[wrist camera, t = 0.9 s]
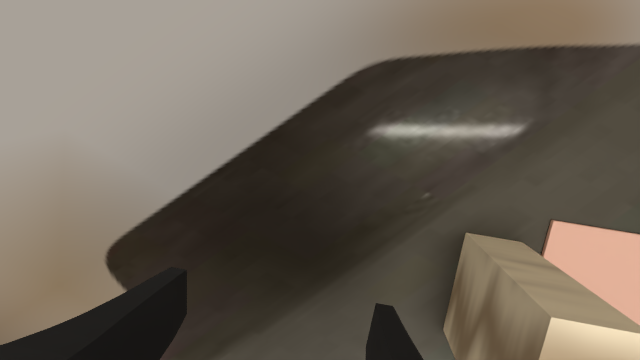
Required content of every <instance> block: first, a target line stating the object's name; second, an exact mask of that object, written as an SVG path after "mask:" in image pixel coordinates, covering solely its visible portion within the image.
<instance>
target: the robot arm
mask: <svg viewBox="0 0 640 360" xmlns="http://www.w3.org/2000/svg"><path fill="white" fill-rule="evenodd" d="M186 314H187V270H184V269H179V268H173V267H171V268H169V269H167V270H165V271H163V272H161V273H159V274H157V275H156V276H154V277H152V278H150V279H149V280H147V281H145V282H143V283H141V284H140V285H138V286H136V287H134V288H132V289H131V290H129V291H127V292H125V293H123V294H122V295H120V296H118V297H116V298H114V299H112V300H110V301H108V302H106V303H104V304H102V305H100V306H98V307H96V308H94V309H92V310H90V311H88V312H86V313H84V314H81V315H79V316H77V317H75V318H72V319H70V320H67V321H65V322H63V323H60V324H58V325H56V326H53V327H51V328H48V329H45V330H43V331H40V332H37V333H34V334H32V335H29V336H26V337H23V338H20V339H18V340H15V341H12V342H9V343H6V344H3V345H0V360H160V358H161V357H162V355H163V354H164V352H165V351H166V349H167V348H168V346H169V345H170V343H171V342H172V340H173V339H174V337H175V335H176V333H177V331H178V330H179V328H180V326H181V324H182V322H183V320H184V318H185V316H186ZM366 360H423V358H422V357H421V355H420V353H419V352H418V350H417V348H416V347H415V345H414V343H413V342H412V340H411V338H410V337H409V335H408V333H407V331H406V330H405V328H404V326H403V324H402V322H401V320H400V318H399V316H398V315H397V313H396V311H395V309H394V307H393V306H389V305H384V304H378V303H376V305H375V309H374V314H373V318H372V323H371V327H370V331H369V336H368V340H367V345H366Z"/></svg>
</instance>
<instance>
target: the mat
mask: <svg viewBox="0 0 640 360" xmlns="http://www.w3.org/2000/svg"><path fill="white" fill-rule="evenodd" d="M541 256H542V257H544V258H545V259H546V260H548V261H549V262H551V263H552V264H553V265H555V266H556V267H558V268H559V269H561V270H562V271H563V272H565V273H566V274H568V275H569V276H570V277H572V278H573V279H575V280H576V281H577V282H579V283H580V284H582V285H583V286H584V287H586V288H587V289H589V290H590V291H592V292H593V293H594V294H596V295H597V296H599V297H600V298H601V299H603V300H604V301H606V302H607V303H608V304H610V305H611V306H613V307H614V308H616V309H617V310H618V311H620V312H621V313H623V314H624V315H625V316H627V317H628V318H630V319H631V320H632V321H634V322H635V323H637V324H638V325H639V326H640V234H636V233H630V232H624V231H618V230H611V229H605V228H599V227H593V226H587V225H581V224H575V223H569V222H563V221H556V220H551V222H550V226H549V229H548V233H547V236H546V240H545V244H544V247H543V251H542V254H541Z"/></svg>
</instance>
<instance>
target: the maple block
mask: <svg viewBox="0 0 640 360" xmlns="http://www.w3.org/2000/svg"><path fill="white" fill-rule="evenodd" d="M443 331H444V333H445V336H446V338H447V340H448V343H449V345H450V347H451V350H452V352H453V355H454V357H455V359H456V360H640V326H639V325H638V324H637V323H635V322H634V321H632V320H631V319H630V318H628V317H627V316H625V315H624V314H623V313H621V312H620V311H618V310H617V309H616V308H614V307H613V306H611V305H610V304H608V303H607V302H606V301H604V300H603V299H601V298H600V297H599V296H597V295H596V294H594V293H593V292H592V291H590V290H589V289H587V288H586V287H584V286H583V285H582V284H580V283H579V282H577V281H576V280H575V279H573V278H572V277H570V276H569V275H568V274H566V273H565V272H563V271H562V270H561V269H559V268H558V267H556V266H555V265H553V264H552V263H551V262H549V261H548V260H546V259H545V258H544V257H542V256H541V255H539V254H538V253H537V252H535V251H534V250H532V249H531V248H529V247H528V246H527V245H525V244H524V243H522V242H518V241H512V240H506V239H500V238H495V237H489V236H483V235H477V234H471V233H466V234H465V238H464V242H463V247H462V251H461V255H460V259H459V264H458V268H457V272H456V276H455V281H454V285H453V289H452V294H451V298H450V302H449V306H448V311H447V315H446V319H445V323H444V328H443Z"/></svg>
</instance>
